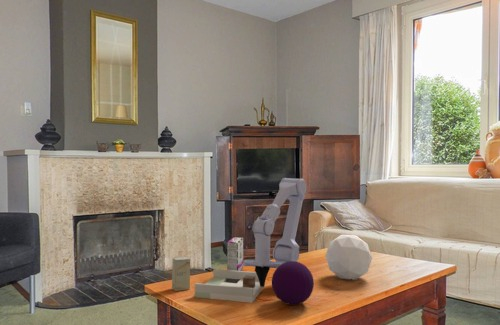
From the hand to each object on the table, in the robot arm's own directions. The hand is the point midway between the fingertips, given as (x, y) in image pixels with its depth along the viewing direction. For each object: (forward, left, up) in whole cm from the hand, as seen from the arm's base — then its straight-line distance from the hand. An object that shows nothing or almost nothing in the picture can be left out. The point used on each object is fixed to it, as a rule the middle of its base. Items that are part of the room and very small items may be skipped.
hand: (262, 286), depth 160 cm
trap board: (+12, 0, -3) cm, 13 cm away
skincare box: (+32, +3, -3) cm, 32 cm away
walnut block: (+5, 0, -1) cm, 5 cm away
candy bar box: (+16, -19, -3) cm, 25 cm away
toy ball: (-13, +8, -3) cm, 15 cm away
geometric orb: (-32, -31, -3) cm, 45 cm away
